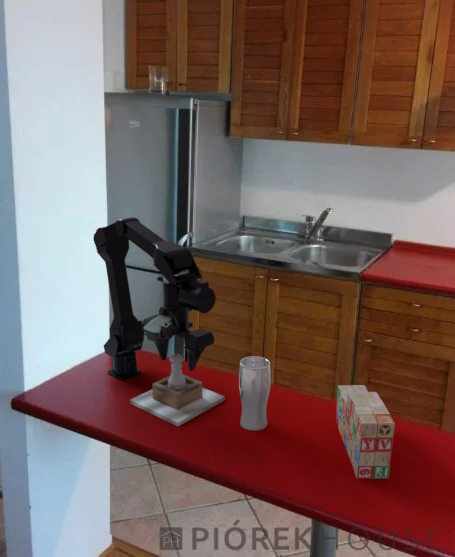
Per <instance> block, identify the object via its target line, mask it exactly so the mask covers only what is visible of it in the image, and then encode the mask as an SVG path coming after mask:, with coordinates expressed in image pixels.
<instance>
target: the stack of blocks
mask: <svg viewBox="0 0 455 557" xmlns="http://www.w3.org/2000/svg"><path fill="white" fill-rule="evenodd" d="M335 416H336V417H335V423H336V426H337V427H338V430H339V433H340V437H341V439H342V441H343V442H342V443H343V444H344V447H345V449H346V452H347V455H348V457H349V459H350V464H351V465H352V467H351V468H352V470H353V472H354V474H355V478H356V479H358V480H369V479H370V480H375V479H378V480H379V479H381V480H382V479H383V480H384V479H386V480H388V479H389V476H390V469H391V465H390V464H391V458H392V451H393V444H394V442H393V441H394V434H395V425H396V424H395V421H394V419H393V418H392V416H391V413H390V412H389V410H388V408H387V407H386V405H385V403H384V401H383V400H382V399H381V397H380V396H379V394H378V393H377V391H369V390H368V388H367V387H366V386H365V384H364V385H363V384H362V385H361V384H358V385H357V384H350V385H345V384H344V385H337V389H336V415H335Z"/></svg>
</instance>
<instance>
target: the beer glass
mask: <svg viewBox="0 0 455 557" xmlns="http://www.w3.org/2000/svg"><path fill="white" fill-rule="evenodd" d="M270 361H271V360H269V359H267V358H266V357H262V356H257V355H256V356H255V355H253V356H252V355H251V356H245V357H244V358H241V359H240V361H239V371H238V389H239V395H240V401H241V416H240V419H239V420H240V422H239V424H240V426H241V427H242V428H243V429H244V430H248V431H256V432H257V431H261V430H264V429H265V428H266V427H267V426H268V419H267V405H268V399H269V395H270V391H271V383H272V382H271V381H272V380H271V374H272V373H271V362H270Z"/></svg>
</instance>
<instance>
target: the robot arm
mask: <svg viewBox="0 0 455 557" xmlns="http://www.w3.org/2000/svg"><path fill="white" fill-rule="evenodd" d="M93 242H94V245H95V248H96V253H97V254H98V255H99V256H100V258H101V259H102V260H103V262H104V263H105V268H106V275H107V281H108V287H109V294H110V295H109V296H110V300H111V307H112V311H113V319H112V322H111V324H110V326H109V338H108V340H107V341H106V342H105V343H104V345H103V349H104V353H105V355H108V356H110V357H111V369H110V370H108V371H107V374H108V375H110V376H113V377H115V378H117V379H119V380H121V381H122V380H123V381H124V380H127V379H129V378H131V377H133V376H135V375H138V374H140V373H142V370H141V369H139V368H138V359H137V353H136V351H141V350H142V348H143V346H144V344H143V343H144V342H145V336H146V339H147V340H148V341H151V342H154V344H155V347H156V349H157V351H158V355H159V357H160V360H161V361H166V359H167V355H168V350H169V343H170V339H171V338H172V337H174V336H177V337H181V338H182V339H184V345H185V346H184V347H183V349H184V350H186V352H187V358H188V359H187V361H188V371H189V372H194V371H195V368H196V366H197V364H198V362H199V360H200V357H201V355H202V354H203V352H204V350H205V349H206V348H207V347H209V346H211V345H213V344H215V334H214V332H212V331H210V330H208V329H204V328H201V327H200V328H198V329H195V330H192V331H191V330H190V329H191V328H193V327H194V326H193V324H194V323H193V322H192V321H190V312H191V311H195V312H198V313H202V314H207V313H209V312H211V310H213V308H214V306H215V304H216V301H217V298H216V293H215V291H214V289H212V288H211V287H209V286H210V285H209V284H210V283H209V281H207V280H201V279H202V278H203V276H202V273H201V272H200V268H199V267H198V265H197V262H196V260H195V259H194V256H193V254H192V252H191V250H190V249H189V248H188V247H185V246H184V245H181V244H179V243H174V242H169V241H167V240H165V239H164V238H162V237H161V236H160V235H158V234H157V233H155V232H154V231H153V230H152V229H150V228H148V227H147V226H145V225H144V224H143V223H141V221H140V220H139V219H138V218H137V217H134V216H132V217H126V218H120V219H118V220H116V221H115V222H113V223H111V224H109V225H106V226H102V227H98V228H97V229H96V230H95V233H94V234H93ZM130 242H131V243H133V244H134V245H135V246H136V247H138V248H139V249H140V250H141V251H143V252H144V253H146V254H147V255H148V256H149V257H150V258H152V261H153V266H154V267H155V268H156V269H157V270H158V271H159V272H160V273H161V274H160V275H159V276H158V277H157V278H156V279H157V281H158V282H160V283H162V286H163V287H162V288H163V289H162V290H163V306H160V307H159V310H158V314H156V315H151V316H149V317H146V318H144V319H143V320H139V319H138V318H137V317H136V316H135V314H134V310H133V303H132V298H131V297H132V296H131V292H130V283H129V279H128V271H127V266H126V265H127V264H126V258H127V256H128V254H129V250H130ZM187 272H188V273H187Z"/></svg>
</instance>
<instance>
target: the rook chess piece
mask: <svg viewBox="0 0 455 557" xmlns="http://www.w3.org/2000/svg"><path fill="white" fill-rule="evenodd" d="M182 356H183V355H182V354H180V353H177V354H176V353H173V354H170V358H169V362H170V363H171V364H170V367H171V371H170V375H171V376H170V375H169V376H170V378H169V379H168V383H169V384H168V387H169V388H171V389H173V390H181V389H183V388H185V386H186V380H185V378H184V376H183V375H184V374H183V370H182V367H183V364H182V363H183V362H184V358H183V357H182Z"/></svg>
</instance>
